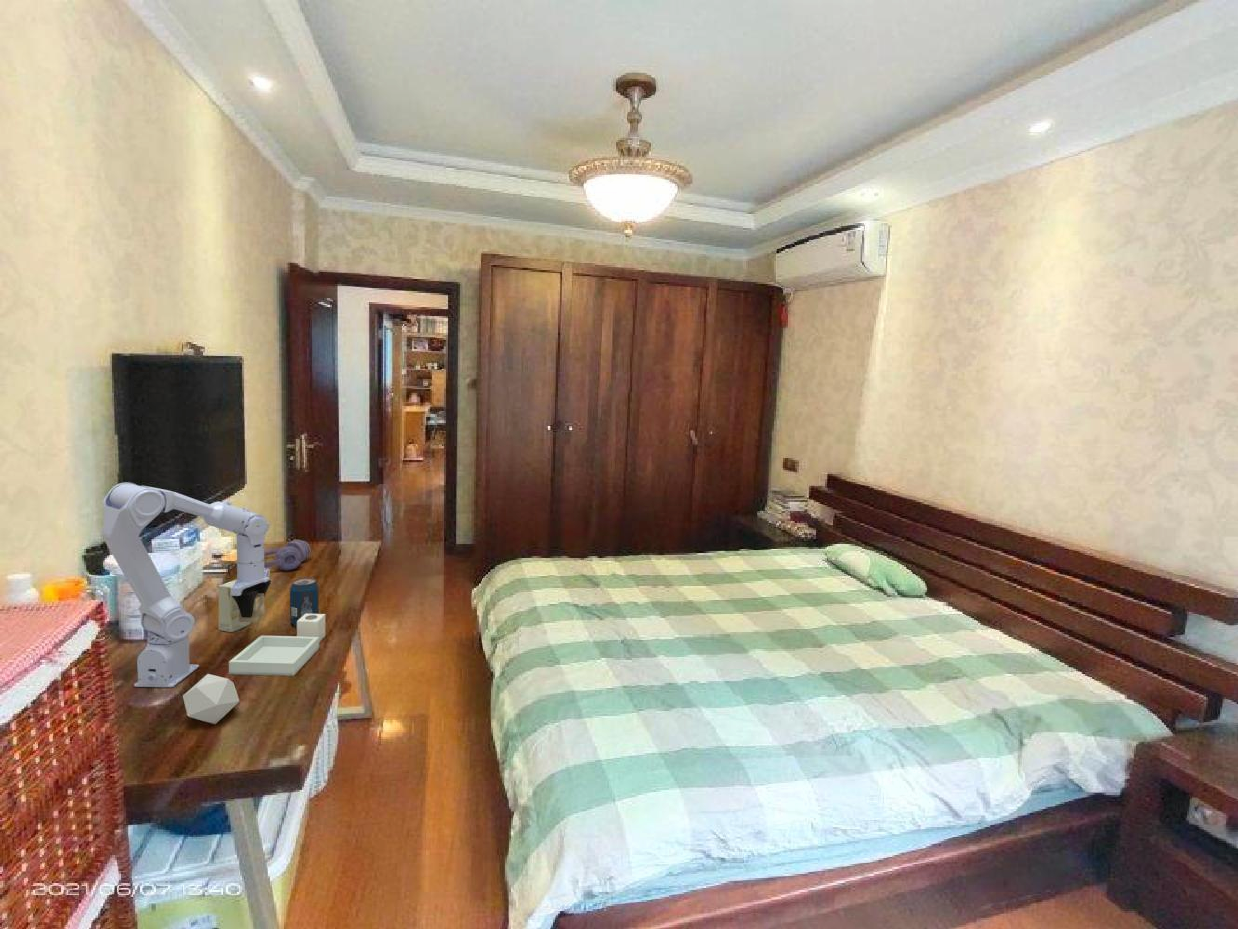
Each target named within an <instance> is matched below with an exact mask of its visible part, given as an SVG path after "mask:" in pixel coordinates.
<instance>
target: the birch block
mask: <svg viewBox="0 0 1238 929" xmlns="http://www.w3.org/2000/svg"><path fill="white" fill-rule="evenodd" d="M263 617H265V597H264V593H257V595H256V598H255V601H254V607H253V614H252V617H250V618H245V617H242V616H241V613H240V610H239V622H250V623H258V622H259V621H260V620H261V619H262V618H263Z"/></svg>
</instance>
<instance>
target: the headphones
mask: <svg viewBox="0 0 1238 929" xmlns="http://www.w3.org/2000/svg"><path fill="white" fill-rule="evenodd" d="M311 551H312V550H311V546H310V544H309V543H308V542H307V541H305V540H300V539H295V540H290V541H289V542H288V543H287V544H286V545H285V546H284V547H280V548H273V549H266V550H265V549H264V557H267V556H270V555H274V560H271V561H266V562H265V561H264V569H267V568H271V567H277V568H278V569H280V570H282V571H287V572H288V571H293V570H295V569H297V568H298V567H299V566H300V564H301V563H303V561H306V560H307V559H308V557H309V556H310V555H311Z"/></svg>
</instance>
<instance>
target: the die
mask: <svg viewBox="0 0 1238 929" xmlns="http://www.w3.org/2000/svg"><path fill="white" fill-rule="evenodd" d="M182 698H183V702H184V706H185V710H186V715H187V716H188V717H189V718H192V719H195V720H199V721H202V722H206V723H209V724H213V725H216V724H218V722H219V721H220V720H222V719H223V718H224V717H225V716H226V715H227V714H228V713H229V712H230V711H231V710H232V709H233V708H234V707H236V706H237V704H239V702H240V698H239V695H238V691H237V689H236V687H235V683H234V682H233V681H232V680H231V679H229V678H226V677H221V676H218V675H214V674H210V673H207V674H206V675H204V676H203V677H202V678H201V679H200V680H199V681H198V682H196V684H195V685H193V686H192V687H191V688H190V689H188V691H187V692H185V693H183V695H182Z"/></svg>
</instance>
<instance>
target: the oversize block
mask: <svg viewBox="0 0 1238 929" xmlns="http://www.w3.org/2000/svg"><path fill="white" fill-rule="evenodd" d="M296 636H299V637H319V643H320V642H321V641H322V640H323V639H324V638H325V637H326V613H319V614H304V615H303V616H302V617H301V618H300V619H299V620H298V621H297V627H296Z"/></svg>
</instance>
